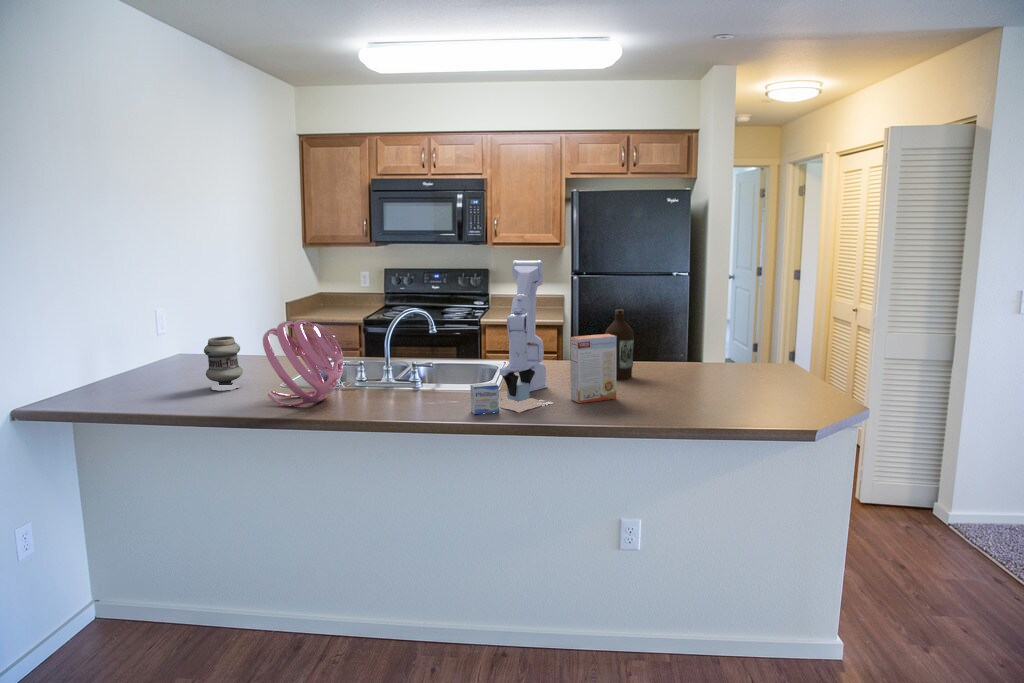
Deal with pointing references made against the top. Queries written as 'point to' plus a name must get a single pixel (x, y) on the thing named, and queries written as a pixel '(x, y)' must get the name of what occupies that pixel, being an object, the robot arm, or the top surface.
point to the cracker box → (593, 368)
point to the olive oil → (622, 345)
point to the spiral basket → (306, 360)
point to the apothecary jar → (223, 360)
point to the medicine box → (484, 398)
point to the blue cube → (520, 392)
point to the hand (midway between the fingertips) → (518, 394)
